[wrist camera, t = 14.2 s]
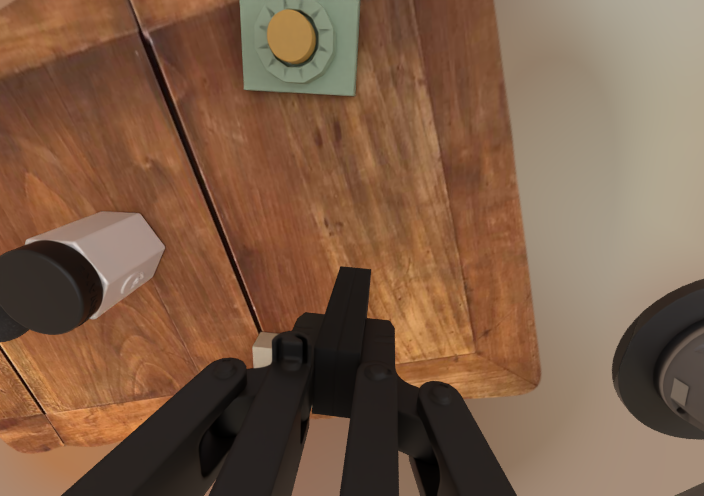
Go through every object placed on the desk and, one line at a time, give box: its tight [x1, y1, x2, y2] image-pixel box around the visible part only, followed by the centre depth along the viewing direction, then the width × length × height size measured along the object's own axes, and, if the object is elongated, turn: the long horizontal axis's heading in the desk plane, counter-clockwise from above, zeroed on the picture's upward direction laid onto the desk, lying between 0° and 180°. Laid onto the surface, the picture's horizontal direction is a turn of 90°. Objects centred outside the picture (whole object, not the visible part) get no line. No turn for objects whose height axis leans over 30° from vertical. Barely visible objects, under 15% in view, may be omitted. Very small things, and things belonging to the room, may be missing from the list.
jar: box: [0, 211, 165, 335], centre depth 37 cm, size 9×8×12 cm
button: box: [267, 9, 316, 64], centre depth 30 cm, size 4×4×2 cm
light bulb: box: [0, 306, 29, 342], centre depth 40 cm, size 6×6×10 cm
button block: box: [240, 0, 360, 96], centre depth 32 cm, size 10×8×4 cm
